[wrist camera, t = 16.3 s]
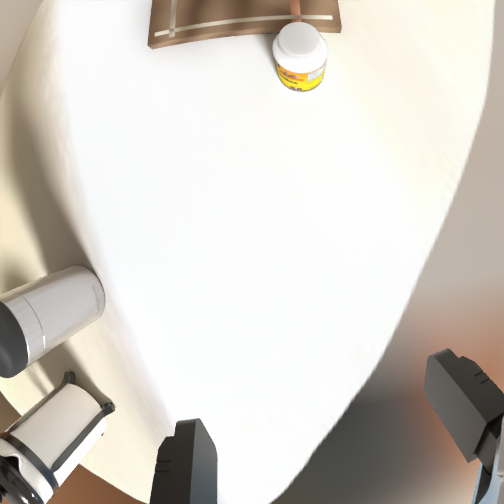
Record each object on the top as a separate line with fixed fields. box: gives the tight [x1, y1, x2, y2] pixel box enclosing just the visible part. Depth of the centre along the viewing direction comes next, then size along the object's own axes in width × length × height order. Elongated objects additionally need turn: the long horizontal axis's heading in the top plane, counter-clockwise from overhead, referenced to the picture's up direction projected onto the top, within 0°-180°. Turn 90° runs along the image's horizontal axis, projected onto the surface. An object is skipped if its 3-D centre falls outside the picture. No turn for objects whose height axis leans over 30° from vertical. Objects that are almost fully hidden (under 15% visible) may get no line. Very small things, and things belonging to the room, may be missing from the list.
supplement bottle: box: [272, 22, 328, 92], centre depth 29 cm, size 6×6×10 cm
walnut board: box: [148, 0, 342, 49], centre depth 32 cm, size 25×10×2 cm, turn 91°
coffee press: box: [0, 372, 115, 504], centre depth 36 cm, size 17×16×30 cm
